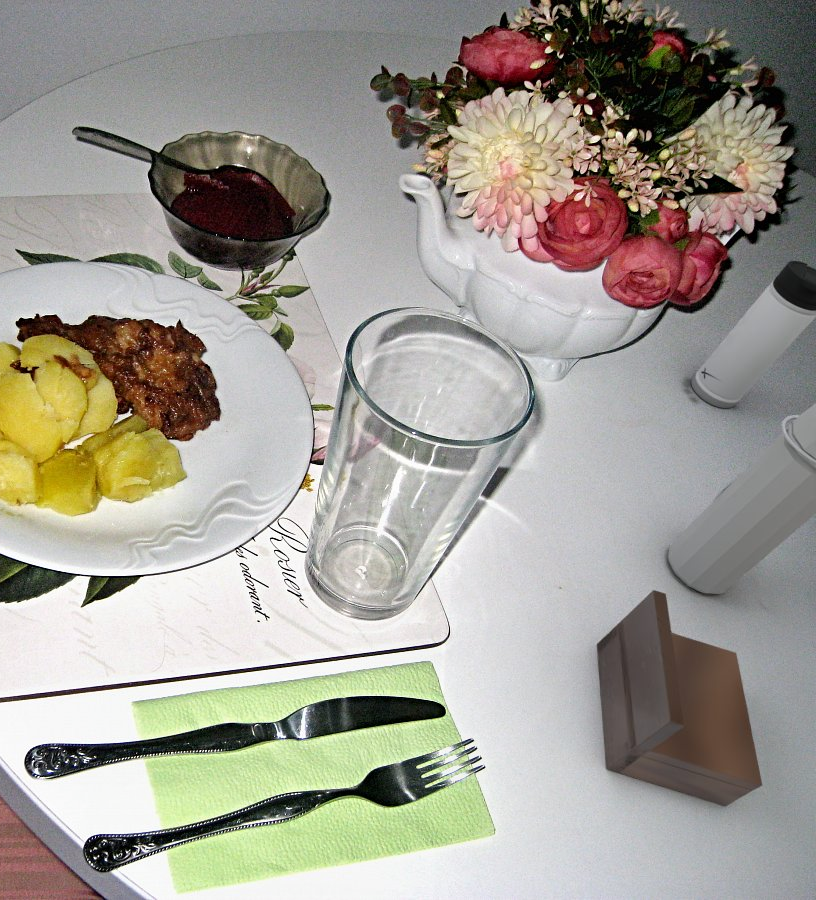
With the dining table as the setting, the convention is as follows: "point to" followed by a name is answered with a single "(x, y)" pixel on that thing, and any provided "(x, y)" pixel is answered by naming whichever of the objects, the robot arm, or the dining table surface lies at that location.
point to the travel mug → (759, 337)
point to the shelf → (675, 708)
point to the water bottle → (752, 512)
